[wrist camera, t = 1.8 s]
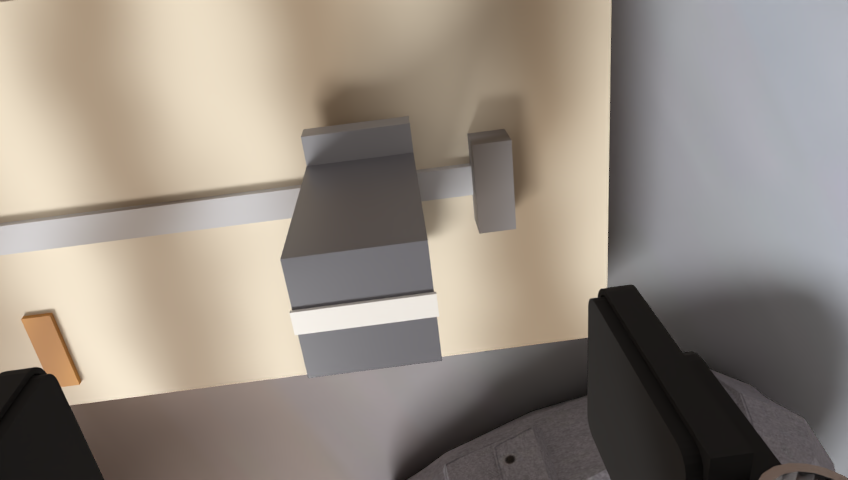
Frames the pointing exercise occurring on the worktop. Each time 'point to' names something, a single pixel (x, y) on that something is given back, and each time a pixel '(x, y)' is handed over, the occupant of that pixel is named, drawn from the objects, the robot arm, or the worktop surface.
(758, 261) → the worktop surface
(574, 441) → the small grey backpack
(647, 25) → the worktop surface
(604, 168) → the console
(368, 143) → the fader
